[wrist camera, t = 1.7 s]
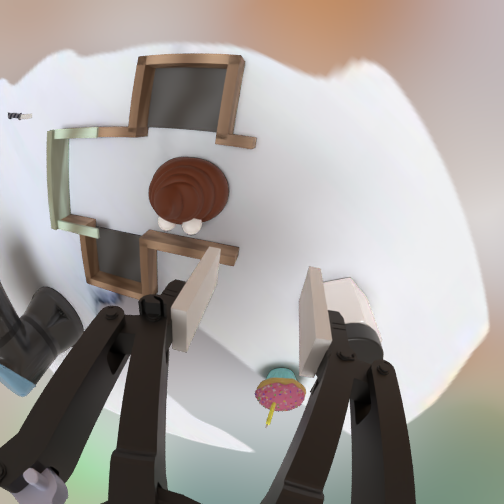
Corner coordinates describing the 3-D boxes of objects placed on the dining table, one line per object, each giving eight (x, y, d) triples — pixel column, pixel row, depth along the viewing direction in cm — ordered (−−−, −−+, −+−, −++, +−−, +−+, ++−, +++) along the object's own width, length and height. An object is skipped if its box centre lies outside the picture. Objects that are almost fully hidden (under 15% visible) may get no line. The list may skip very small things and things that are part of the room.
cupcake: (251, 379, 47) (241, 432, 36) (272, 354, 43) (265, 413, 33) (290, 392, 48) (287, 444, 37) (315, 370, 44) (316, 426, 33)
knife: (9, 123, 31) (6, 124, 30) (10, 111, 30) (7, 112, 29) (66, 115, 30) (62, 115, 29) (67, 100, 29) (63, 100, 28)
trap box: (73, 266, 42) (60, 277, 38) (71, 73, 27) (53, 71, 23) (230, 309, 40) (224, 326, 37) (269, 64, 25) (266, 55, 22)
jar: (310, 328, 40) (313, 390, 29) (302, 284, 37) (304, 346, 26) (367, 318, 38) (384, 378, 27) (365, 272, 35) (389, 330, 24)
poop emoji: (234, 160, 31) (213, 171, 23) (227, 226, 35) (206, 259, 26) (158, 153, 32) (117, 164, 23) (156, 215, 35) (120, 242, 27)
